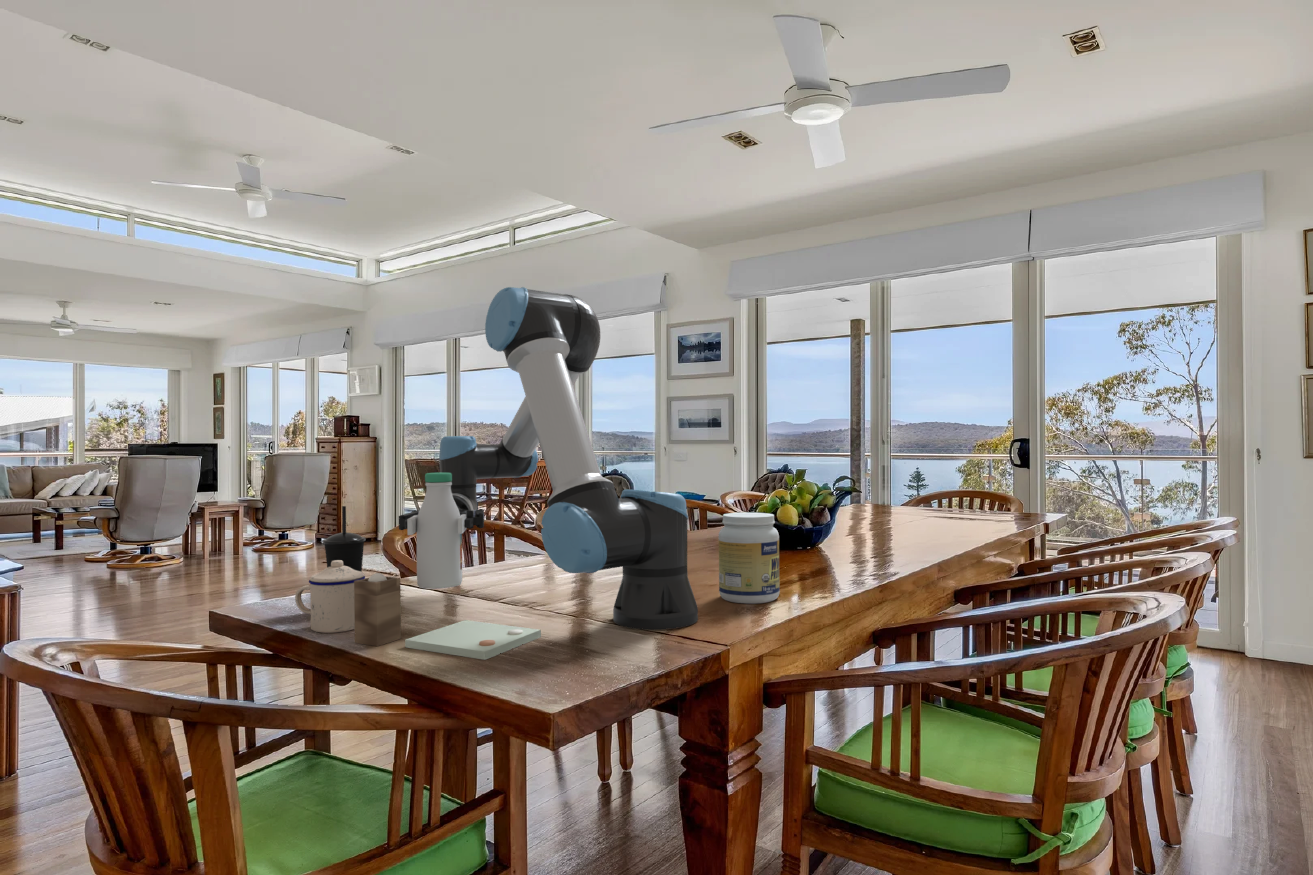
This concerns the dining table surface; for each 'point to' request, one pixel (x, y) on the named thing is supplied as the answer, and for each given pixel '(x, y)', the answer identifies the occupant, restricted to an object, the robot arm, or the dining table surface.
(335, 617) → the teacup with lid
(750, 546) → the supplement tub
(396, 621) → the walnut tube
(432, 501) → the milk bottle
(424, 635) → the card
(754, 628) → the dining table surface
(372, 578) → the cream ball
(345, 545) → the drinking cup
